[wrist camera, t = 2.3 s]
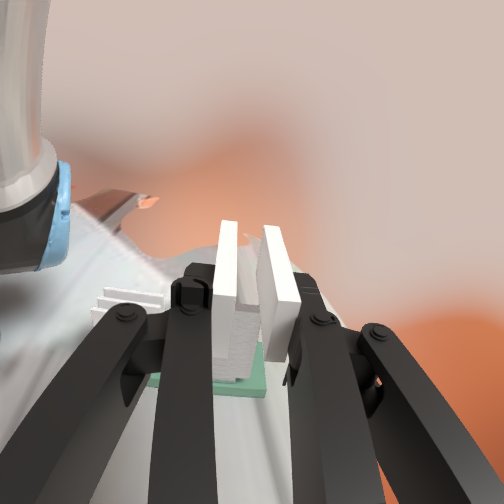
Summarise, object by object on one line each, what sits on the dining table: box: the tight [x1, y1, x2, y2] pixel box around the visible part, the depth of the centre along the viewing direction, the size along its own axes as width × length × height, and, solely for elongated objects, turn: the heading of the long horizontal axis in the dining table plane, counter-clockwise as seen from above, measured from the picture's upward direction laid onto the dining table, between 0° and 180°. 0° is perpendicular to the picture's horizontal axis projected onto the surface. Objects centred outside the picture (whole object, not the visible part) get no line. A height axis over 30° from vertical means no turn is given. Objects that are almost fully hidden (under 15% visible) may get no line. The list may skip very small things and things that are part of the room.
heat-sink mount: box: [91, 287, 267, 398], centre depth 35 cm, size 20×8×9 cm, turn 91°
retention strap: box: [212, 303, 261, 384], centre depth 33 cm, size 6×4×10 cm, turn 91°
